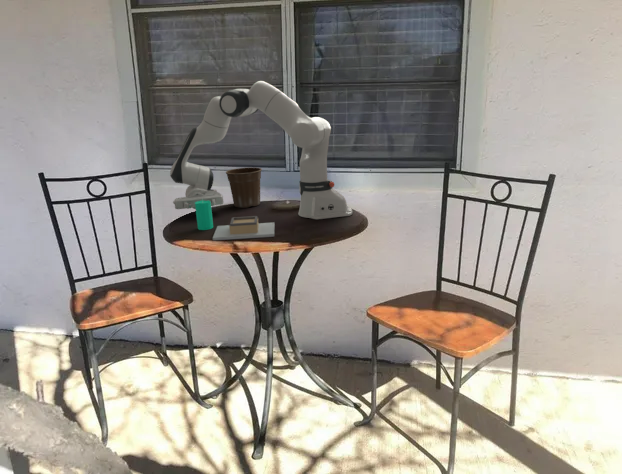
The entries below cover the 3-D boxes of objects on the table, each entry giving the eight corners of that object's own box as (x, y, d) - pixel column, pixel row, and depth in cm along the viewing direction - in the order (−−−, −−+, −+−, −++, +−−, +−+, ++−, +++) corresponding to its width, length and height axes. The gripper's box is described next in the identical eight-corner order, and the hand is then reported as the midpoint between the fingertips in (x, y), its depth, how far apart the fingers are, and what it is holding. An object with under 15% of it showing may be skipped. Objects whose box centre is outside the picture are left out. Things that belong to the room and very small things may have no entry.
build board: (274, 224, 197) (273, 212, 196) (274, 236, 182) (273, 223, 181) (217, 228, 196) (216, 216, 195) (212, 240, 181) (211, 227, 180)
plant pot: (224, 209, 227) (220, 173, 222) (234, 201, 242) (231, 167, 237) (259, 208, 224) (256, 172, 219) (267, 200, 239) (265, 166, 235)
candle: (209, 230, 195) (206, 199, 191) (195, 230, 196) (191, 199, 192) (215, 225, 200) (212, 196, 197) (201, 225, 201) (198, 196, 198)
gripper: (171, 194, 216) (173, 200, 203) (219, 189, 222) (224, 194, 209) (173, 208, 218) (175, 215, 205) (221, 203, 223) (225, 209, 211)
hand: (200, 205), depth 207 cm, fingers open, 8 cm apart
